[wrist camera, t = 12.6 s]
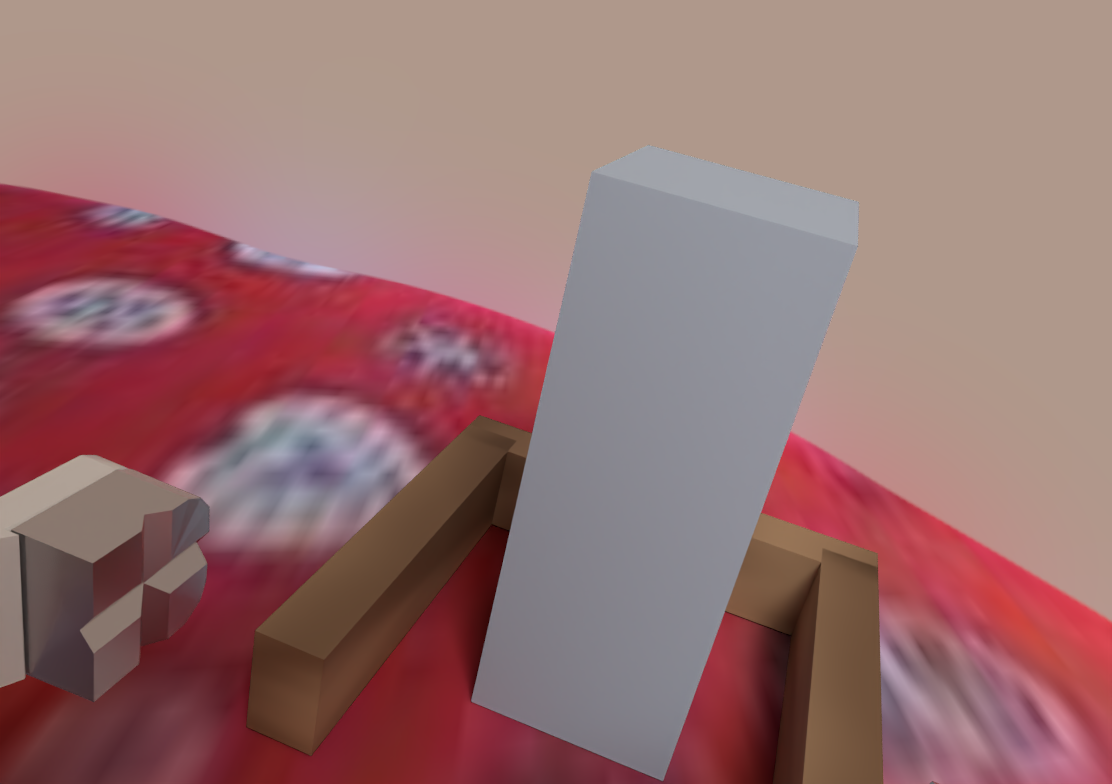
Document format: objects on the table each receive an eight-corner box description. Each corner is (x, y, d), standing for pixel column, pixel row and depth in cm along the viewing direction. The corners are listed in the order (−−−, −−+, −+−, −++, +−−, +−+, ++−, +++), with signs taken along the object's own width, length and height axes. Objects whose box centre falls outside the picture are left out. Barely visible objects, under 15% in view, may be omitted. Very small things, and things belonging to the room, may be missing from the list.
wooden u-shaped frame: (246, 727, 18) (255, 630, 17) (465, 484, 28) (479, 415, 27) (834, 990, 16) (885, 896, 15) (846, 624, 26) (877, 553, 25)
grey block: (471, 701, 20) (591, 171, 15) (536, 592, 24) (648, 145, 19) (662, 781, 19) (858, 246, 14) (697, 654, 23) (858, 201, 18)
